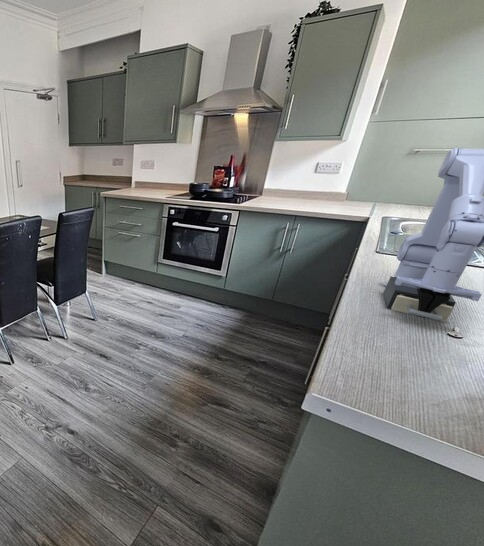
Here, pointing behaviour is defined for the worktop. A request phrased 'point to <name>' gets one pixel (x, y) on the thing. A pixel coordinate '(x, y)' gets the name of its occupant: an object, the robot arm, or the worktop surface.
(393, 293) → the drawer box
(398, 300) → the cream drawer
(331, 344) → the worktop surface
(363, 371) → the worktop surface
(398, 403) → the worktop surface
